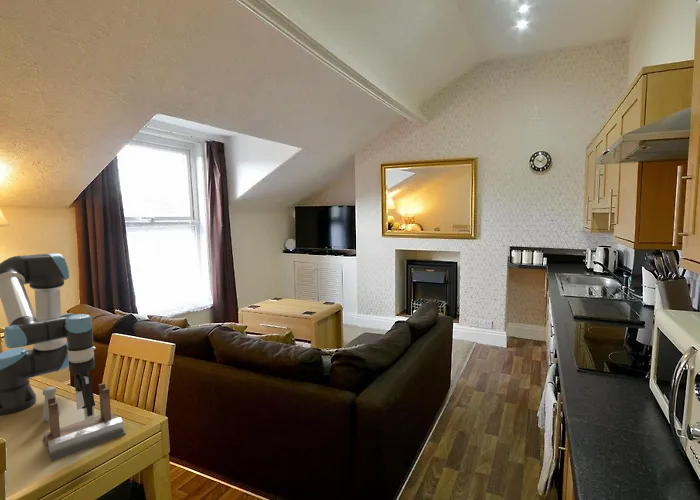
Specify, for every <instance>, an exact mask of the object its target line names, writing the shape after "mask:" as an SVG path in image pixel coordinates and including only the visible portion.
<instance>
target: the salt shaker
mask: <svg viewBox="0 0 700 500" xmlns="http://www.w3.org/2000/svg"><path fill="white" fill-rule="evenodd" d="M56 393H57V387H55V386H48V387H45V388H44V389H43V390H42V395H43V396H44V402H43V407H42V415H41V417H42V419H43V420H44V422H46V423H50V420H49V408H48V398H51V397H55V403H58V414H59V416H61V408H60V406H59V401H58V399H57V396H56Z"/></svg>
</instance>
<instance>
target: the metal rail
mask: <svg viewBox="0 0 700 500" xmlns="http://www.w3.org/2000/svg"><path fill="white" fill-rule="evenodd" d="M122 430H124V421H123V419H122V417H120V416H119V417H116V419H113V420H110V421H106V422H103V423H100V424H97V425H94V426H91V427H88V428H85V429H82V430H79V431H76V432H73V433H70V434H67V435H64V436H61V437H58V438H55V439H52V440H49V441H48V447H47V450H48V449H49V451H48V453H50V454H49V457H50V456H52V455H54V454H57V453H60V452H63V451H66V450H69V449H71V448H74V447H77V446H80V445H83V444H85V443H88V442H91V441H94V440H97V439H99V438H102V437H105V436H108V435H111V434H114V433H116V432H119V431H122Z"/></svg>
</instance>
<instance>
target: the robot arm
mask: <svg viewBox="0 0 700 500" xmlns="http://www.w3.org/2000/svg"><path fill="white" fill-rule="evenodd" d="M69 278H70V271H69V266H68V263H67V261H66V259H65V257H64V256H63V255H62V254H61V253H58V252H57V253H39V254H28V255H27V254H26V255H25V254H24V255H15V256H12V257H9V258H5V259H4V260H3V261H2V262H0V302H1V304H2V308H3V311H4V314H5V317H6V321H7V323H8V325H7V326H6V327H4V329H3V337H4V343H5V346H6V348H8V349H9V350H5V351H2V352H0V416H2V415H8V414H14V413H18V412H20V411H23V410H25V409H28V408H29V407H31V406H33V405H34V404H35V403H36V402H37V395H36V392H35V391H34V389H33V388H32V386H31V384H30V379H31V378H35V377H38V376H42V375H46V374H51V373H54V372H55V373H56V372H59V371H61V370H65V369H67V368H68V371H69V373H70V374H74V383H73V384H74V385H73V387H74V391H75V399H76V402H75V403H76V410H77V411H78V410H81V409H83V412H84V413H83V415H84V420H85V425H89V424H92V423H95V418H94V417H95V406H96V402H95V397H94V391H93V390H94V389H93V383H92V376H91V374H90V371H92V370H93V369H94V368H95V367H96V362H95V361H96V360H95V352H94V351H95V350H96V347H95V346H94V331H93V328H94V327H93V326H94V323H93V319H92V315H89V314H85V313H79V314H74V313H70V312H69V313H68V312H67V313H64V314H62V308H61V307H62V306H61V305H62V304H61V288H62V287H63V286H64V285H65V281H66V280H68V279H69ZM25 285H29V288H30V289H32V290H34V302H35V304H34V305H35V311H34V308H33V305H32V302H31V301H30V299H29V296H28V292H27V290H26V288H25ZM32 345H33V346H32ZM27 346H32V349H30V350H27V348H25V347H27Z"/></svg>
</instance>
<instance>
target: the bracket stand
mask: <svg viewBox="0 0 700 500" xmlns="http://www.w3.org/2000/svg"><path fill="white" fill-rule="evenodd" d="M98 392H99V409H100V415H97V416H94V418H95V423H92V424H89V425H85V419H84V420H81V421H78V422H75V423H72V424H69V425H66V426H63V427H60V415H59V414H58V405H59V402H58V403H55V397H51V398H48V408H49V420H50V422H49V429H50V431H47V432H44V433H43V440H44V443H45V445H46V447H47V448H48V441H49V440H52V439H55V438H58V437H61V436H64V435H67V434H70V433H73V432H76V431H79V430H82V429H85V428H88V427H91V426H94V425H97V424H100V423H103V422H106V421H110V420H113V419H116V418H117V417H116V415H115V414H114V412H113V411H112V409H111V397H110V396H111V395H110V388H107V387H106V383H105V382H103V383H99V384H98Z"/></svg>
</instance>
